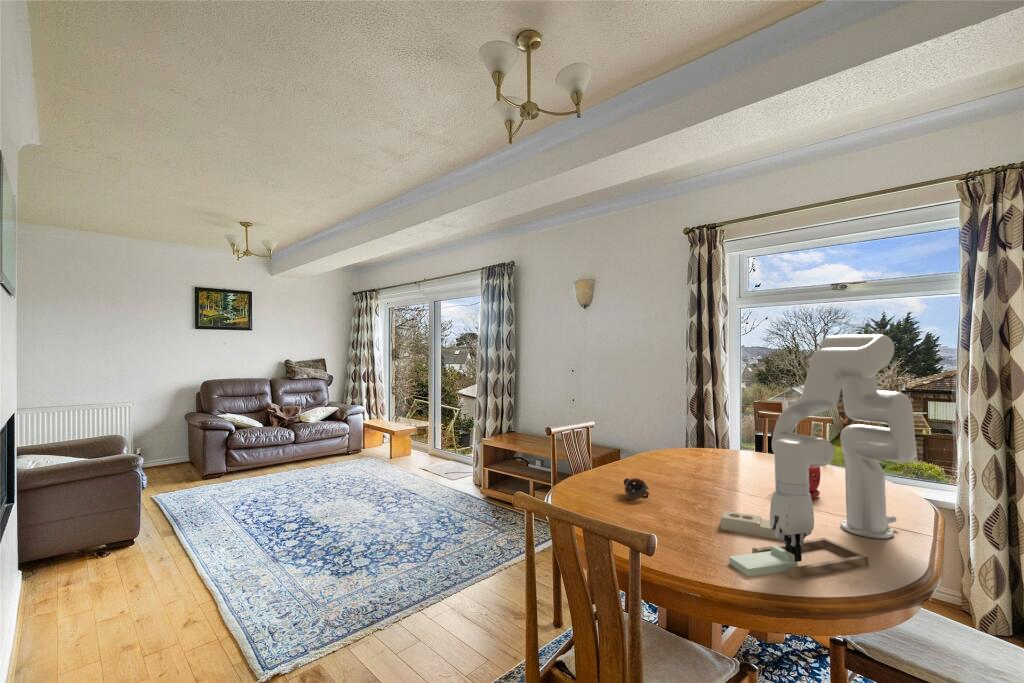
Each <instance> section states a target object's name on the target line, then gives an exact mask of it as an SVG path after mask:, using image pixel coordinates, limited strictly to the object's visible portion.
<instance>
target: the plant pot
mask: <svg viewBox="0 0 1024 683" xmlns="http://www.w3.org/2000/svg"><path fill="white" fill-rule="evenodd" d="M820 482H821V467H809V483H810V486H809V493H810V495H811V499H815V498H818V497H819V496H820V494H821V491H820V490H819V486H820Z"/></svg>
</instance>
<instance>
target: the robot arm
mask: <svg viewBox="0 0 1024 683" xmlns="http://www.w3.org/2000/svg"><path fill="white" fill-rule="evenodd" d="M894 352H895V344H894V342H893V340H892V339H891V338H890V337H889V336H887V335H885V334H879V333H877V334H876V333H872V334H870V333H869V334H868V333H867V334H841V335H840V334H837V335H831V336H827V337H825V338H823V339H822V340H821V343H820V349H818V350H815V351H814V352H813V354H812V356H811V359H810V361H809V362H810V363H809V366H808V371H807V374H806V379H805V381H804V385H803V390H802V394H801V396H800V397H799V398H798V399H796V400H794V402H792V403H791V404H790V405H789V406H787V408H785V409H784V410H783V411H782V413H781V414H780V415H779V416H778V418H777V420H776V422H775V425H774V430H773V433H772V438H771V449H772V450H771V451H772V453H773V454H774V484H775V485H774V487H775V488H774V490H775V491H773V492H772V496H771V500H770V509H769V511H770V512H769V513H770V514H769V520H770V528H771V529H773V530H775V537H776V538H778V539H777V540H779V539H781V540H780V541H783V542H784V544H786V551H788V552H790V553H792V554H793V555H795V561H796V562H797V563H798V562H802V560H803V559H802V558H803V557H802V556H803V555H802V551H801V545H803V543H804V541H805V539H806V537H808V536H810V535H811V534H812V531H813V530H814V528H815V514H814V505H813V498H811V495H810V493H809V486H810V483H809V467H820V468H821V467H825V466H827V465H829V464H830V463H832V461H833V460H834V458H835V453H836V452H835V447H834V446H833V444H832V443H831V442H830V441H829V440H828V439H825V438H823V437H818V436H813V435H807V434H800V433H794V429H795V428H796V426H797V425H798V424H799V423H801V422H802V421H803V420H804V419H807V418H809V417H811V416H814V415H817V414H820V413H823V412H827V411H830V410H833V409H835V408H837V407H838V405H839V402H840V396H841V392H842V401H843V409H844V413H845V415H846V416H847V417H848V419H851V420H854V421H858V422H859V421H860V422H867V423H872V424H873V423H874V424H875V423H876V424H884V425H887V426H888V427H884V426H879V425H870V424H861V423H860V424H849V425H847V426H845V427H844V428H843V429H842V430H841V432H840V444H841V449H842V453H843V458H844V470H845V478H844V479H845V507H846V508H845V512H846V514H845V515H846V517H845V518H846V519H843V520H841V521H840V527H841V528H842V529H843V530H844V531H847V532H849V533H851V534H854V535H858V536H861V537H865V538H871V539H880V540H881V539H890V537H891V538H892V537H894V530H893V529H892V528H891V527H889V524H892V523H896V522H897V517H896V516H895V515H887V500H886V499H887V498H886V496H887V495H886V474H885V472H884V469H883V467H882V466H881V465H880V463H879V462H878V461H877V460H881V461H886V462H890V463H891V462H892V463H898V464H899V463H900V464H906V463H910V462H912V461H913V460H914V458H915V455H916V452H917V448H916V446H917V445H916V444H917V443H916V432H915V420H914V419H915V418H914V410H913V405H912V402H911V400H910V398H909V397H908V396H907V394H905V393H903V392H901V391H893V390H880V389H879V387H878V380H877V374H878V372H880V371H881V370H882V369H883V368H884V367H886V366H887V365H888V364H889V363H890V362H891V361H892V358H893V356H894V354H895V353H894Z"/></svg>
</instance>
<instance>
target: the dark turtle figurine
mask: <svg viewBox="0 0 1024 683" xmlns="http://www.w3.org/2000/svg"><path fill="white" fill-rule="evenodd" d="M623 484H624V492H625V497H626V498H628V499H629V500H630V499H640V497H641V498H642V497H643V496H646V495H649V496H650V493H649V491H648V490H649V487H648V485H647V484H646V483H645V481H643V480H642V479H640V478H637V477H635V478H624V480H623ZM626 498H625V499H626Z"/></svg>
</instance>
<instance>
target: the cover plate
mask: <svg viewBox="0 0 1024 683" xmlns="http://www.w3.org/2000/svg"><path fill="white" fill-rule="evenodd" d="M777 545H778V544H776V545H770V546H771V551H768V552H760V553H753V554H752V553H747V554H746V553H745V554H739V555H737V554H736V555H732V556H731V555H730V556H729V557H728V561H729V562H728V563H729V564H730V565H731V566H732V567H733V568H735V569H737V570H739V571H740V572H741V573H743V574H744V575H745V576H747V577H754V576H756V577H757V576H760V575H762V576H763V575H769V574H777V573H782V572H783V573H784V572H785V573H786V572H788V567H790V566H791V567H798V562H796V561H795V555H793V554H792V553H790V552H788V551H786V550H784V549H782V548H780V547H778V546H777Z"/></svg>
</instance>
